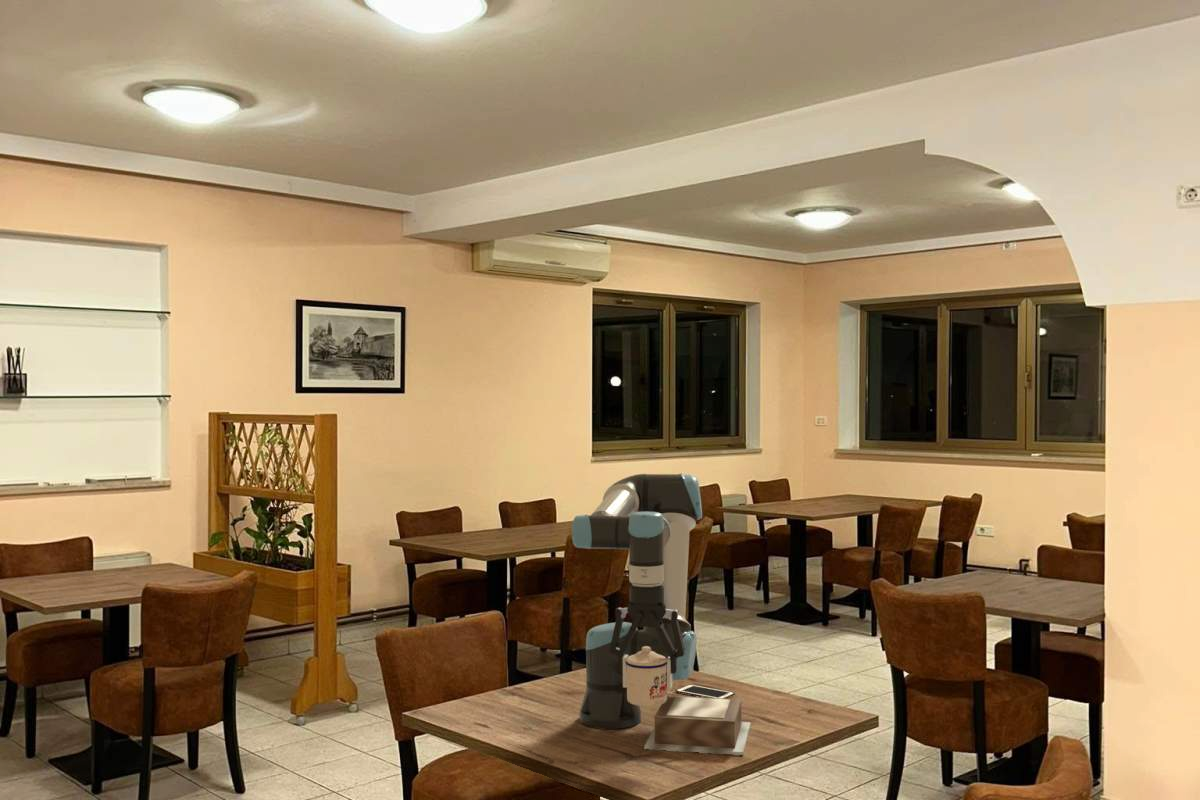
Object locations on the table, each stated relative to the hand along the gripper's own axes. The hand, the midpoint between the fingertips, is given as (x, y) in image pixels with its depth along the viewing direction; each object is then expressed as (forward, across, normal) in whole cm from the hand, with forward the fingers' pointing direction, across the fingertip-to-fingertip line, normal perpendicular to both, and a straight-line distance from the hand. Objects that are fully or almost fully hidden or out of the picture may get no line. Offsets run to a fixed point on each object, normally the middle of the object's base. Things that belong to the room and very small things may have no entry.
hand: (647, 686), depth 228 cm
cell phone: (+17, +6, +54) cm, 57 cm away
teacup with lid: (+3, 0, 0) cm, 3 cm away
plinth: (+16, +9, +17) cm, 25 cm away
